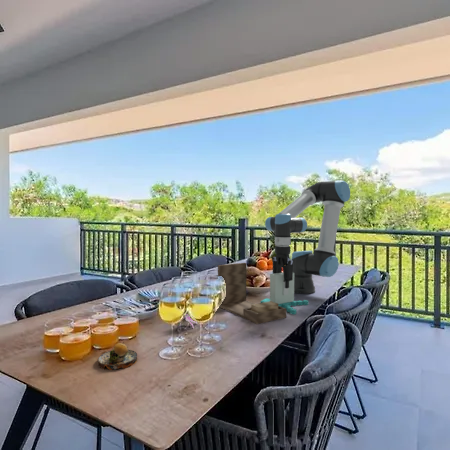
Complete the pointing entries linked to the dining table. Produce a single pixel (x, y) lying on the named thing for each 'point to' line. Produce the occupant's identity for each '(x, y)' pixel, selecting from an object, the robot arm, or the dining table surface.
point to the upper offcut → (264, 307)
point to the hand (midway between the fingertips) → (282, 293)
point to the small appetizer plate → (117, 358)
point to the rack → (243, 295)
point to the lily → (189, 320)
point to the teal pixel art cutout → (289, 305)
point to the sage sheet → (280, 289)
